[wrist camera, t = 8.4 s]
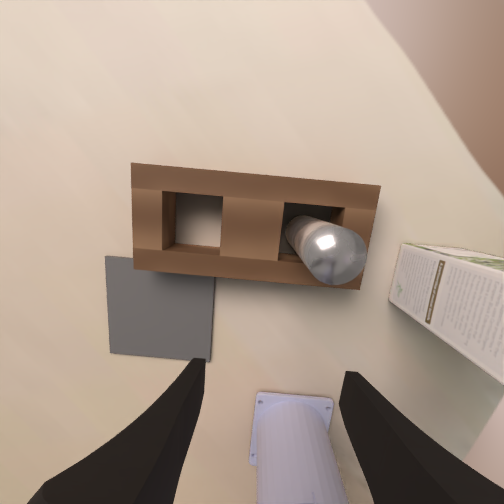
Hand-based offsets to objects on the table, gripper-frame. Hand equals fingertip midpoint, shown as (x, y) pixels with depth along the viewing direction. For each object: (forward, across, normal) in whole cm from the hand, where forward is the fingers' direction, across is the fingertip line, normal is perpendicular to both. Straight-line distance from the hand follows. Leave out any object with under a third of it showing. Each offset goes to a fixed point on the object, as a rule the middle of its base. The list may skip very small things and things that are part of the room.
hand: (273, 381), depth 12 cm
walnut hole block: (+10, +2, -6) cm, 12 cm away
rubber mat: (+10, +10, +2) cm, 15 cm away
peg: (+10, -3, -6) cm, 13 cm away
